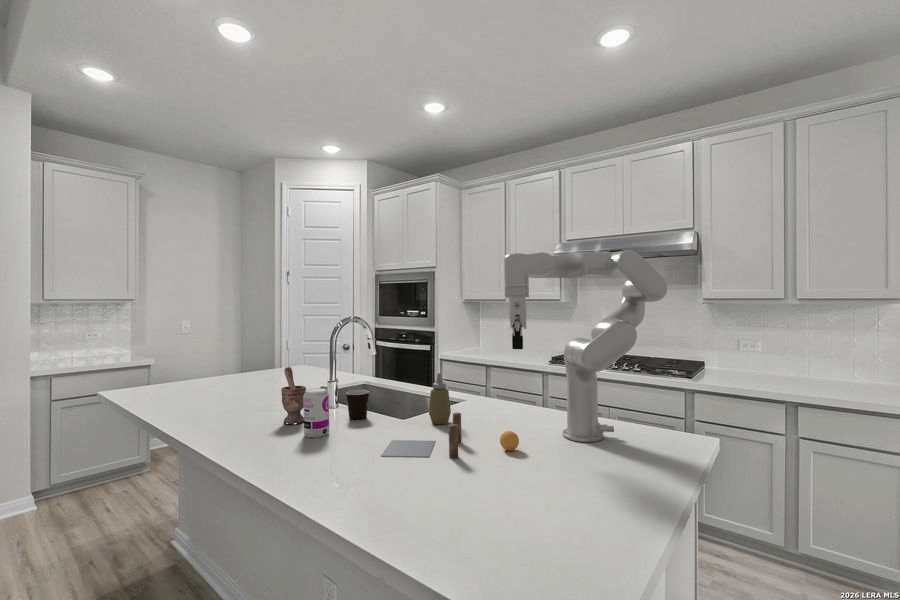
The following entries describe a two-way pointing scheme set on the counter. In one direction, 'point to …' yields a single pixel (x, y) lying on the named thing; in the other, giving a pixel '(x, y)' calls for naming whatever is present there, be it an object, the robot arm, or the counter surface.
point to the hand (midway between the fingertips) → (517, 347)
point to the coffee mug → (357, 404)
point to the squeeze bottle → (439, 402)
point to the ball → (509, 440)
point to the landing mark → (409, 448)
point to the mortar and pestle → (292, 399)
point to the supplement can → (316, 412)
